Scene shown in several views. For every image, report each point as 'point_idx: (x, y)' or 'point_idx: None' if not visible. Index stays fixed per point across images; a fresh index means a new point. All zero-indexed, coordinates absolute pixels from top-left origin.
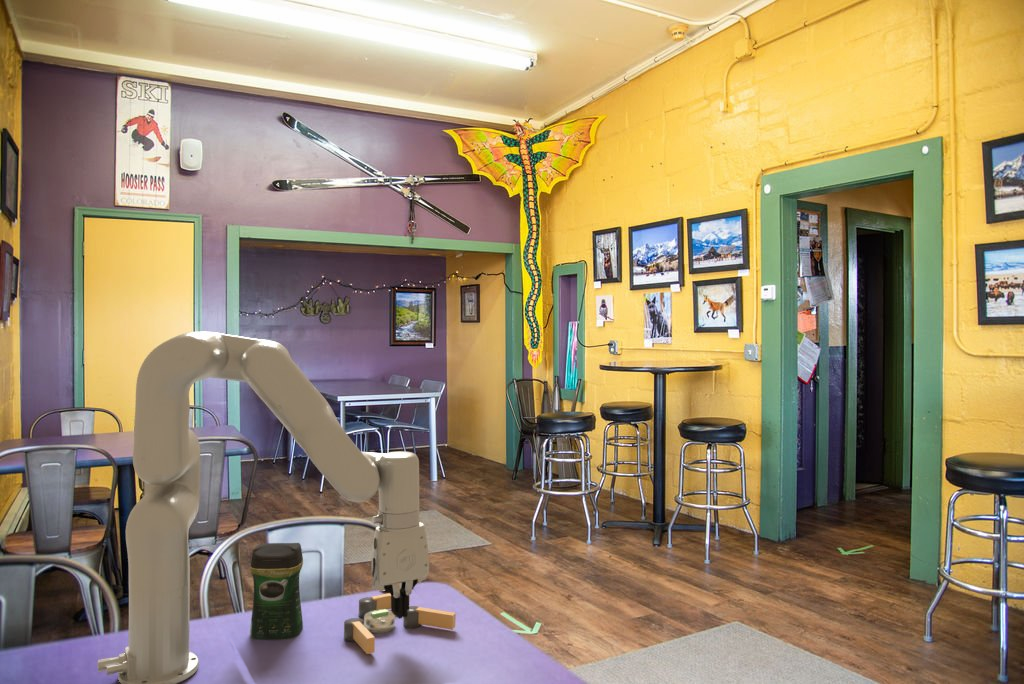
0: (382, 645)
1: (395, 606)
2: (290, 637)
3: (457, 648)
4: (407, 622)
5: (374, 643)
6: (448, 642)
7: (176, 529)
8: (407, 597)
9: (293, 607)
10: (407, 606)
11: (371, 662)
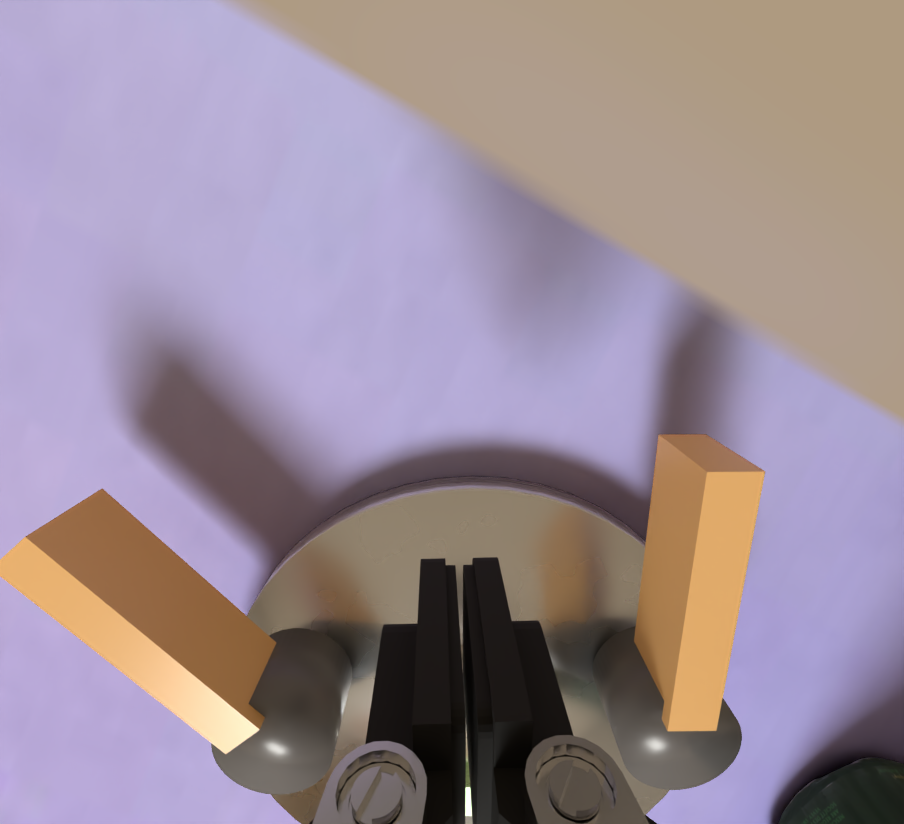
0: None
1: (538, 664)
2: (897, 783)
3: (146, 361)
4: (335, 671)
5: (686, 453)
6: (172, 451)
7: None
8: (389, 731)
9: None
10: (398, 645)
11: (636, 436)
